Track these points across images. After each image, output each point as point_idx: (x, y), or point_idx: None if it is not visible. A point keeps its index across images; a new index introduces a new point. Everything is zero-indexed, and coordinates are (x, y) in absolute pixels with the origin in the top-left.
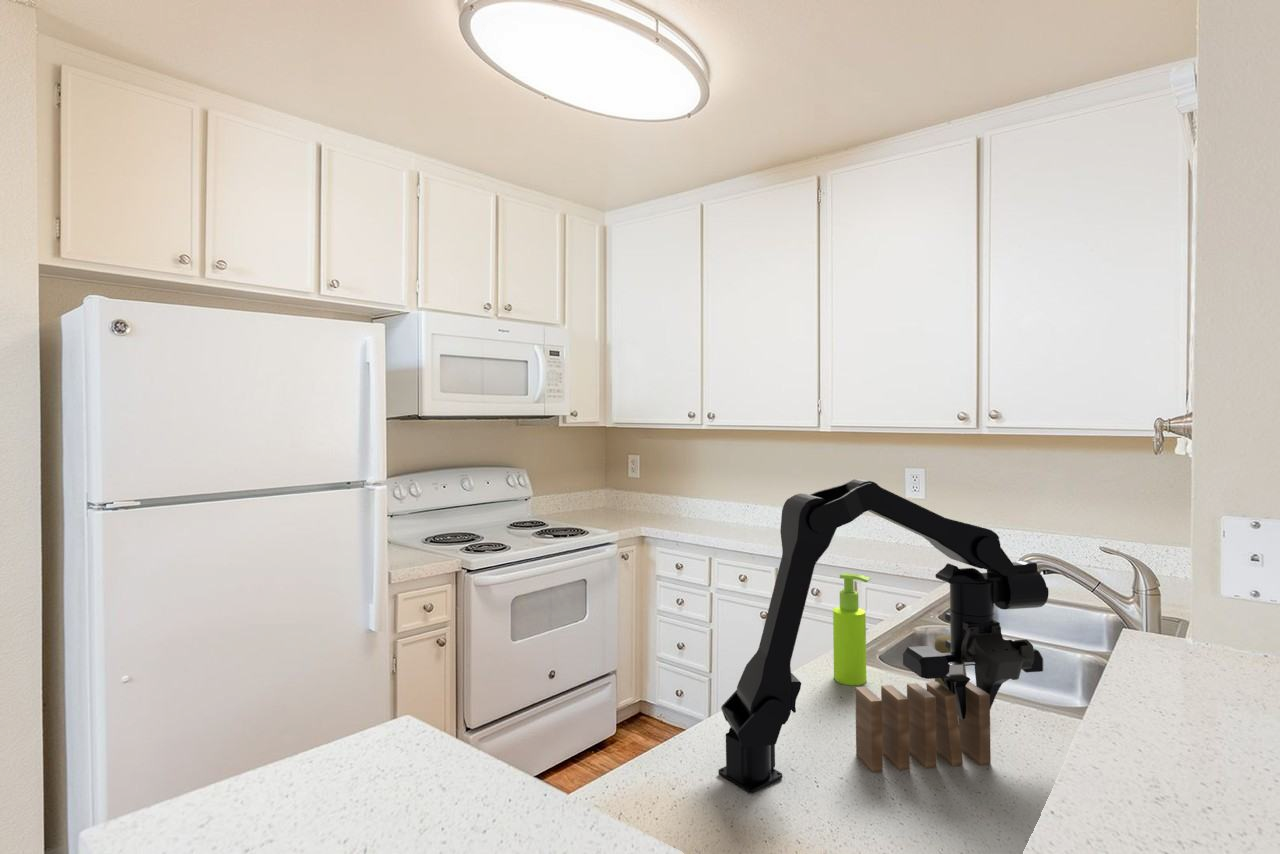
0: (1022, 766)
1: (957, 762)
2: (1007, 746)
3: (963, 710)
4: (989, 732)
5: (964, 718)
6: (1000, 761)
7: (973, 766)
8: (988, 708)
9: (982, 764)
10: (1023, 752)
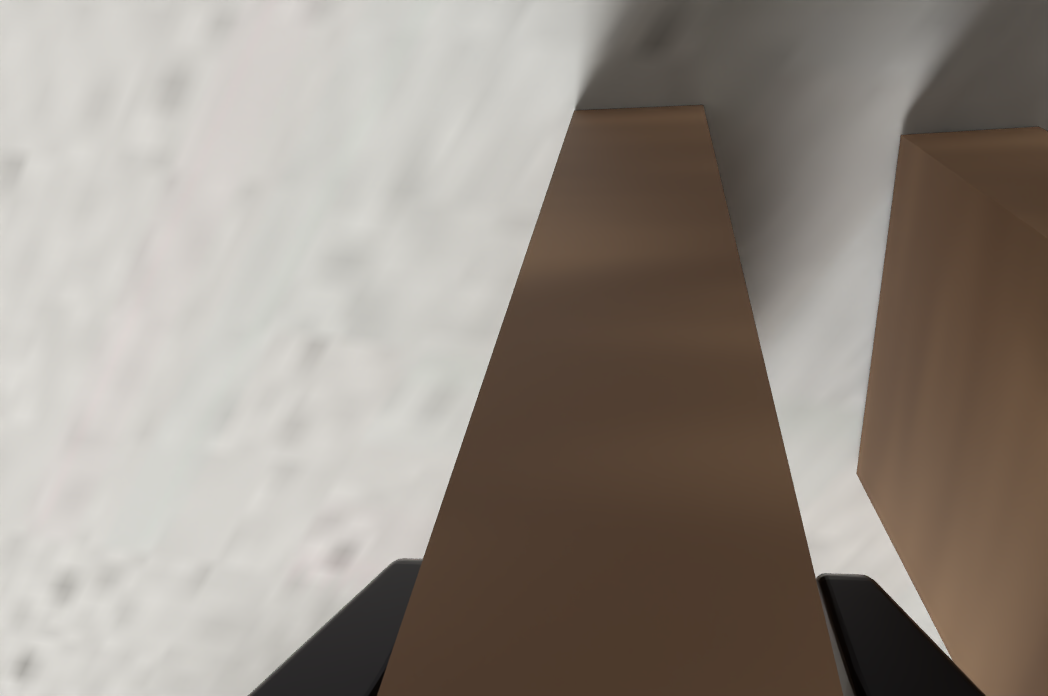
0: (252, 39)
1: (982, 138)
2: (227, 408)
3: (924, 693)
4: (542, 244)
5: (833, 577)
6: (430, 164)
7: (791, 94)
8: (487, 515)
9: (673, 108)
10: (129, 297)
